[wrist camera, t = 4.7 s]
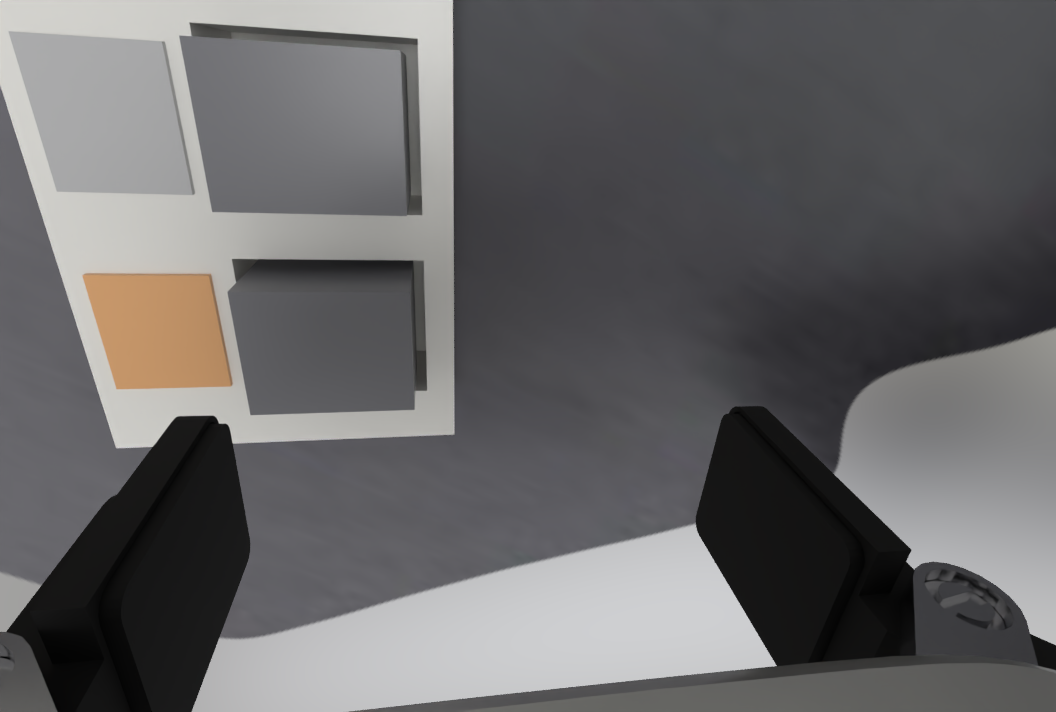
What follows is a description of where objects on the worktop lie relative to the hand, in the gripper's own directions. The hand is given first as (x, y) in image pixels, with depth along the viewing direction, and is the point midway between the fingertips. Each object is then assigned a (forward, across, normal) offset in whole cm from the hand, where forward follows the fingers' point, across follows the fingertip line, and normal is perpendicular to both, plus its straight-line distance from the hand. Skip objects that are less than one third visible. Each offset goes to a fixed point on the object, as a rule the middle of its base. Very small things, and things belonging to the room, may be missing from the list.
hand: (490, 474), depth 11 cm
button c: (+12, +4, +1) cm, 12 cm away
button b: (+12, +4, -5) cm, 13 cm away
